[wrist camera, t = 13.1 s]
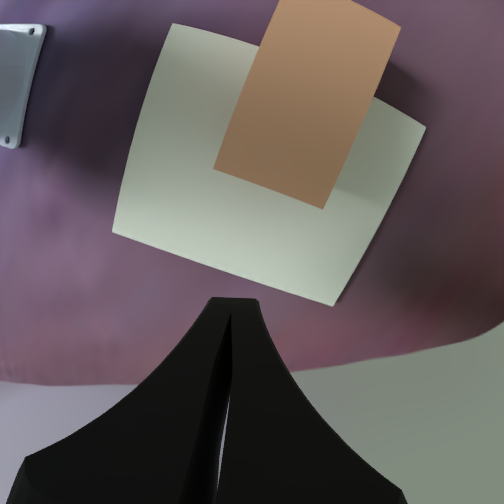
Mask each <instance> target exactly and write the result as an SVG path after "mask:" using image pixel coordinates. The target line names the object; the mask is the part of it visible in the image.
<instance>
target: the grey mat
mask: <svg viewBox="0 0 504 504" xmlns="http://www.w3.org/2000/svg"><path fill="white" fill-rule="evenodd" d="M258 49H259V47H258V46H255V45H252V44H249V43H246V42H243V41H240V40H236V39H233V38H230V37H226V36H223V35H219V34H216V33H212V32H208V31H205V30H201V29H197V28H193V27H188V26H184V25H180V24H175V23H172V26H171V28H170V30H169V33H168V35H167V38H166V40H165V43H164V45H163V48H162V51H161V53H160V56H159V59H158V61H157V64H156V67H155V70H154V73H153V75H152V78H151V81H150V84H149V87H148V90H147V93H146V96H145V99H144V103H143V106H142V109H141V112H140V116H139V119H138V122H137V126H136V129H135V133H134V137H133V140H132V144H131V148H130V152H129V156H128V159H127V164H126V168H125V172H124V176H123V180H122V185H121V189H120V194H119V199H118V204H117V209H116V214H115V219H114V224H113V230H112V232H114V233H117V234H119V235H122V236H125V237H128V238H130V239H133V240H136V241H139V242H142V243H144V244H147V245H150V246H153V247H156V248H159V249H161V250H164V251H167V252H170V253H173V254H176V255H179V256H181V257H184V258H187V259H190V260H193V261H196V262H199V263H202V264H205V265H208V266H211V267H213V268H216V269H219V270H222V271H225V272H228V273H231V274H234V275H237V276H240V277H243V278H246V279H249V280H252V281H255V282H258V283H261V284H264V285H267V286H270V287H273V288H277V289H280V290H283V291H286V292H289V293H292V294H295V295H298V296H301V297H304V298H308V299H311V300H314V301H317V302H320V303H323V304H326V305H330V306H333V305H334V304H335V302H336V300H337V299H338V297H339V295H340V294H341V292H342V290H343V289H344V287H345V285H346V284H347V282H348V280H349V279H350V277H351V275H352V274H353V272H354V270H355V268H356V267H357V265H358V263H359V261H360V260H361V258H362V256H363V254H364V252H365V251H366V249H367V247H368V245H369V243H370V242H371V240H372V238H373V236H374V234H375V232H376V230H377V229H378V227H379V225H380V223H381V221H382V219H383V217H384V215H385V213H386V211H387V210H388V208H389V206H390V204H391V202H392V200H393V198H394V196H395V194H396V192H397V190H398V188H399V186H400V184H401V182H402V180H403V177H404V175H405V173H406V171H407V169H408V167H409V165H410V163H411V161H412V158H413V156H414V154H415V152H416V150H417V147H418V145H419V143H420V141H421V138H422V136H423V134H424V132H425V129H426V127H425V126H423V125H422V124H420V123H419V122H417V121H415V120H414V119H412V118H410V117H409V116H407V115H406V114H404V113H402V112H400V111H399V110H397V109H395V108H393V107H392V106H390V105H388V104H386V103H385V102H383V101H381V100H379V99H377V98H375V97H374V96H373V99H372V101H371V103H370V106H369V108H368V110H367V113H366V115H365V117H364V120H363V122H362V124H361V127H360V129H359V131H358V134H357V136H356V138H355V140H354V143H353V145H352V147H351V149H350V152H349V154H348V156H347V158H346V161H345V163H344V165H343V167H342V170H341V172H340V174H339V176H338V178H337V180H336V183H335V185H334V187H333V189H332V191H331V193H330V196H329V198H328V200H327V202H326V204H325V206H324V208H323V210H322V209H320V208H317V207H315V206H312V205H310V204H307V203H305V202H302V201H300V200H297V199H294V198H292V197H289V196H287V195H284V194H281V193H279V192H276V191H273V190H271V189H268V188H265V187H262V186H260V185H257V184H254V183H251V182H249V181H246V180H243V179H240V178H237V177H235V176H232V175H229V174H226V173H223V172H220V171H217V170H214V169H213V167H214V164H215V162H216V159H217V156H218V153H219V150H220V147H221V145H222V142H223V139H224V136H225V134H226V131H227V128H228V125H229V123H230V120H231V117H232V115H233V112H234V109H235V107H236V104H237V102H238V99H239V96H240V94H241V91H242V89H243V86H244V84H245V81H246V79H247V76H248V73H249V71H250V69H251V66H252V64H253V61H254V59H255V56H256V54H257V51H258Z"/></svg>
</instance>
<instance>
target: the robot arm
mask: <svg viewBox="0 0 504 504" xmlns="http://www.w3.org/2000/svg"><path fill="white" fill-rule="evenodd" d="M34 29H35V32H34V34H33V35H32V32H33V30H34ZM46 30H47V29H46V26H45V25H42V24H0V145H1V146H4V147H7V148H11V149H14V148H17V147H18V146H19V145H20V142H21V135H22V129H23V123H24V117H25V112H26V106H27V102H28V97H29V92H30V88H31V84H32V79H33V75H34V72H35V68H36V64H37V60H38V57H39V54H40V50H41V47H42V44H43V41H44V37H45V34H46ZM8 137H9V138H10V142H9V140H8ZM229 397H230V401H229ZM228 403H229V410H228V418H227V425H226V434H225V441H224V448H223V455H222V463H221V470H220V477H219V484H218V470H219V469H218V468H219V455H220V448H221V441H222V435H223V430H224V424H225V419H226V414H227V408H228ZM217 485H218V490H217ZM6 504H408V503H407V501H406V499H405V497H404V494H403V492H402V490H401V489H400V488H398V487H397V486H396V485H394V484H393V483H391V482H390V481H389V480H388V479H386V478H385V477H384V476H382V475H381V474H380V473H379V472H377V471H376V470H375V469H374V468H372V467H371V466H370V465H369V464H368V463H367V462H365V461H364V460H363V459H362V458H361V457H360V456H359V455H358V454H357V453H356V452H355V451H353V450H352V449H351V448H350V447H349V446H348V445H347V444H346V443H345V442H344V441H343V440H342V439H341V437H340V436H339V435H338V434H337V433H336V432H335V431H334V430H333V429H332V428H331V427H330V426H329V425H328V424H327V422H326V421H325V420H324V419H323V418H322V417H321V416H320V414H319V413H318V412H317V411H316V410H315V408H314V407H313V406H312V405H311V403H310V402H309V401H308V400H307V398H306V396H305V395H304V394H303V392H302V391H301V389H300V388H299V387H298V385H297V384H296V382H295V381H294V379H293V377H292V376H291V374H290V373H289V371H288V369H287V368H286V366H285V364H284V362H283V361H282V359H281V357H280V355H279V353H278V351H277V349H276V347H275V345H274V343H273V341H272V339H271V337H270V335H269V332H268V330H267V328H266V325H265V322H264V320H263V317H262V313H261V310H260V305H259V301H257V300H256V299H252V298H223V297H212V298H211V299H210V300H209V301H208V303H207V304H206V306H205V307H204V309H203V311H202V312H201V314H200V315H199V317H198V318H197V319H196V321H195V322H194V324H193V325H192V326H191V328H190V329H189V330H188V332H187V333H186V334H185V335H184V337H183V338H182V339H181V341H180V342H179V343H178V344H177V346H176V347H175V348H174V349H173V350H172V351H171V352H170V353H169V355H168V356H167V357H166V358H165V359H164V360H163V361H162V362H161V364H160V365H159V366H158V367H157V368H156V369H155V370H154V371H153V372H152V373H151V374H150V375H149V376H148V377H147V378H146V379H145V380H144V381H143V382H141V383H140V384H139V385H138V386H137V387H136V388H135V389H134V390H133V391H132V392H130V393H129V394H128V395H127V396H125V397H124V398H123V399H122V400H120V401H119V402H118V403H117V404H116V405H114V406H113V407H112V408H110V409H109V410H108V411H106V412H105V413H104V414H102V415H101V416H99V417H98V418H96V419H95V420H93V421H92V422H90V423H88V424H87V425H86V426H84V427H82V428H81V429H79V430H78V431H76V432H74V433H73V434H71V435H69V436H68V437H66V438H64V439H62V440H60V441H58V442H56V443H54V444H52V445H51V446H48V447H46V448H44V449H42V450H40V451H38V452H36V453H34V454H31V455H29V456H26V457H25V459H24V461H23V463H22V465H21V467H20V469H19V471H18V473H17V476H16V478H15V481H14V483H13V486H12V488H11V491H10V494H9V497H8V499H7V502H6Z"/></svg>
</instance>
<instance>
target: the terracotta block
mask: <svg viewBox="0 0 504 504" xmlns="http://www.w3.org/2000/svg"><path fill="white" fill-rule="evenodd" d="M400 29H401V27H400V26H398V25H397V24H395V23H393V22H391V21H390V20H388V19H386V18H384V17H382V16H380V15H379V14H377V13H375V12H373V11H371V10H369V9H367V8H365V7H363V6H361V5H359V4H357V3H355V2H353V1H351V0H280V1H279V3H278V5H277V7H276V10H275V12H274V14H273V16H272V19H271V21H270V23H269V26H268V28H267V30H266V33H265V35H264V37H263V40H262V42H261V44H260V47H259V49H258V51H257V54H256V56H255V59H254V61H253V64H252V66H251V69H250V71H249V73H248V76H247V79H246V81H245V84H244V86H243V89H242V91H241V94H240V96H239V99H238V102H237V104H236V107H235V109H234V112H233V115H232V117H231V120H230V123H229V125H228V128H227V131H226V134H225V136H224V139H223V142H222V145H221V147H220V150H219V153H218V156H217V159H216V162H215V164H214V167H213V169H214V170H217V171H220V172H223V173H226V174H229V175H232V176H235V177H237V178H240V179H243V180H246V181H249V182H251V183H254V184H257V185H260V186H262V187H265V188H268V189H271V190H273V191H276V192H279V193H281V194H284V195H287V196H289V197H292V198H294V199H297V200H300V201H302V202H305V203H307V204H310V205H312V206H315V207H317V208H320V209H322V210H323V208H324V206H325V204H326V202H327V200H328V198H329V196H330V193H331V191H332V189H333V187H334V185H335V183H336V180H337V178H338V176H339V174H340V172H341V170H342V167H343V165H344V163H345V161H346V158H347V156H348V154H349V152H350V149H351V147H352V145H353V143H354V140H355V138H356V136H357V134H358V131H359V129H360V127H361V124H362V122H363V120H364V117H365V115H366V113H367V110H368V108H369V106H370V103H371V101H372V99H373V96H374V94H375V91H376V89H377V87H378V84H379V82H380V79H381V77H382V74H383V72H384V70H385V67H386V65H387V62H388V60H389V57H390V55H391V52H392V50H393V47H394V44H395V42H396V39H397V37H398V34H399V32H400Z"/></svg>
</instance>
